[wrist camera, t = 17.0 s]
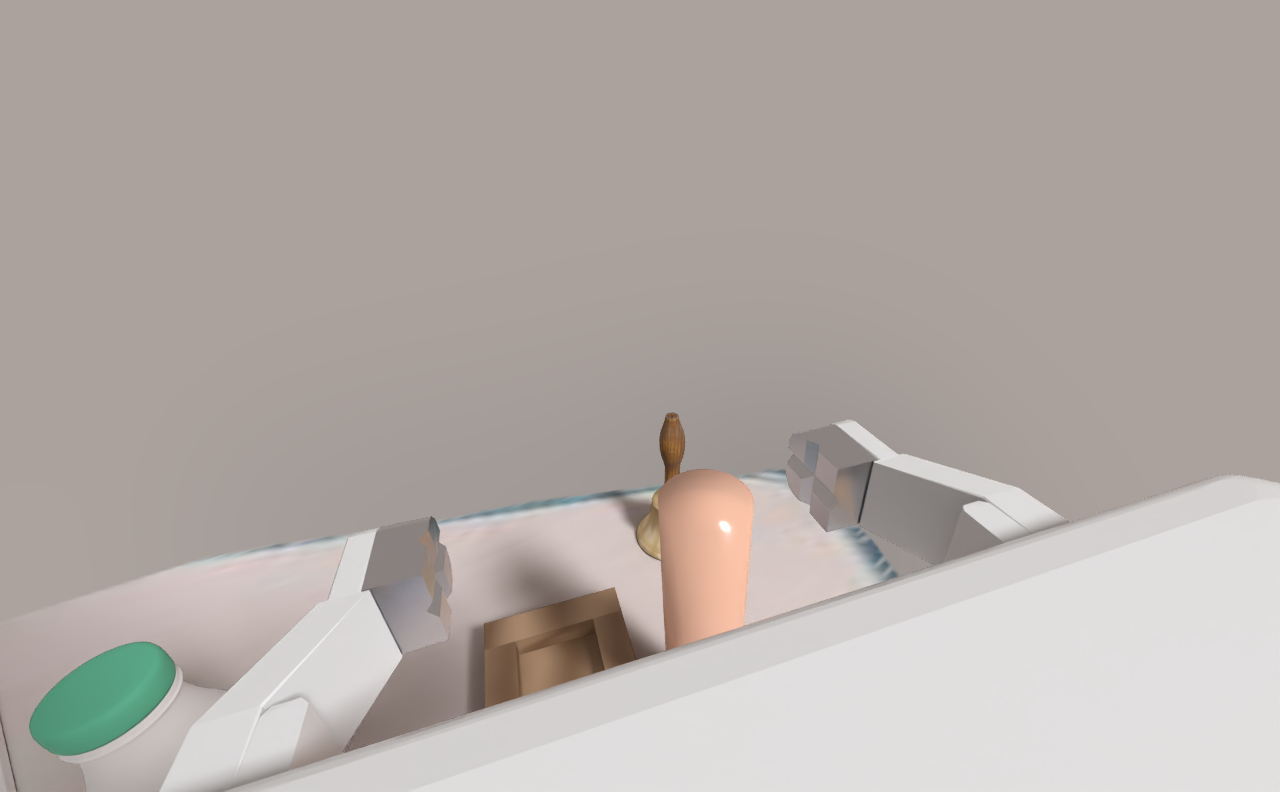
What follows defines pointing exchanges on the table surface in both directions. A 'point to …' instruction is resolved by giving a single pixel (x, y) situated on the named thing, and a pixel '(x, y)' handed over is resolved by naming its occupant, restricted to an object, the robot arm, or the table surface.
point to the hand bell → (672, 457)
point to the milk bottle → (122, 717)
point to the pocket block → (554, 646)
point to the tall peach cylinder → (704, 554)
